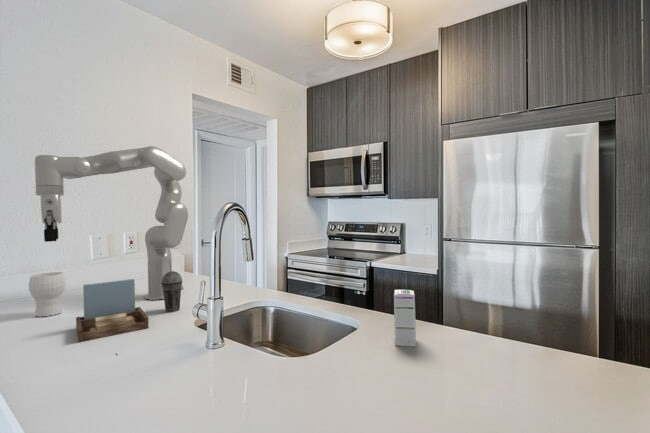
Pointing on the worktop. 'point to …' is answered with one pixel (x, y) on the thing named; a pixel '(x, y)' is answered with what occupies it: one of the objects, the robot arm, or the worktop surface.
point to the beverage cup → (172, 290)
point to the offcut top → (111, 319)
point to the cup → (47, 292)
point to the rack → (86, 335)
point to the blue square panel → (108, 298)
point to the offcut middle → (116, 324)
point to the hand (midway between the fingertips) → (51, 240)
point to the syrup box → (404, 318)
